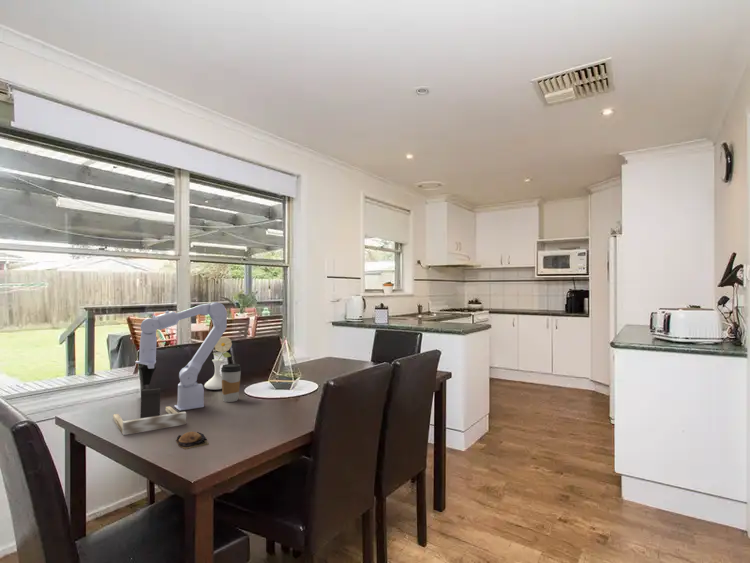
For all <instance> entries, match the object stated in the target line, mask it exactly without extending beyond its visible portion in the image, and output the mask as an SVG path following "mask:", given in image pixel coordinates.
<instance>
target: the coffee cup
mask: <svg viewBox="0 0 750 563" xmlns="http://www.w3.org/2000/svg"><path fill="white" fill-rule="evenodd" d="M241 372H242V367H241V364H239V363H226V364H222V367H220V373H221V377H222V389H221V391H222V392H221V393H222V400H223V402H225V403H233V402H237V401H238V399H239V395H240V386H241Z"/></svg>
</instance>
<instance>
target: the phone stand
mask: <svg viewBox="0 0 750 563" xmlns="http://www.w3.org/2000/svg"><path fill="white" fill-rule="evenodd" d="M140 396H141V398H140V417H139V419H140V418H147V417H153V416H159V415H161V387H157V388H156V387H155V388H143V389H142V388H141V393H140Z"/></svg>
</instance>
